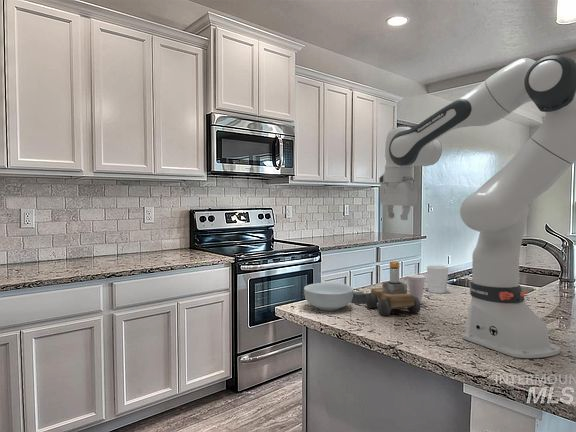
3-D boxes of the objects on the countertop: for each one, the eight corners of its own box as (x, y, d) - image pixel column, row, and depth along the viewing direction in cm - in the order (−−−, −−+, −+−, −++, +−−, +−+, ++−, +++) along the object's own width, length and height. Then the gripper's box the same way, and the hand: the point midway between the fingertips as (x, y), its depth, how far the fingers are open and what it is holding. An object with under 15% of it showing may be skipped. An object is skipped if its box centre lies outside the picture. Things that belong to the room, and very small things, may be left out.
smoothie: (423, 300, 146) (423, 262, 145) (427, 305, 139) (427, 265, 139) (405, 300, 146) (405, 262, 146) (408, 305, 140) (408, 265, 140)
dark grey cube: (366, 303, 143) (366, 294, 143) (356, 304, 142) (356, 294, 142) (361, 301, 147) (361, 291, 147) (351, 301, 146) (351, 292, 146)
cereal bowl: (294, 308, 137) (293, 287, 137) (323, 299, 149) (323, 280, 149) (334, 317, 126) (334, 295, 125) (363, 307, 138) (363, 286, 138)
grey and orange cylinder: (400, 292, 133) (400, 262, 132) (392, 293, 132) (392, 263, 132) (396, 290, 136) (396, 261, 135) (388, 291, 135) (388, 261, 134)
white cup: (451, 293, 156) (451, 268, 156) (430, 294, 156) (430, 268, 156) (443, 289, 164) (443, 265, 164) (424, 289, 164) (424, 265, 164)
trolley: (420, 314, 129) (420, 286, 128) (385, 317, 125) (385, 288, 125) (397, 303, 142) (397, 278, 142) (365, 306, 139) (365, 280, 139)
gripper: (423, 176, 123) (422, 221, 124) (393, 178, 143) (392, 217, 144) (404, 175, 122) (403, 221, 123) (376, 178, 142) (376, 217, 143)
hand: (397, 219), depth 133 cm, fingers open, 8 cm apart
